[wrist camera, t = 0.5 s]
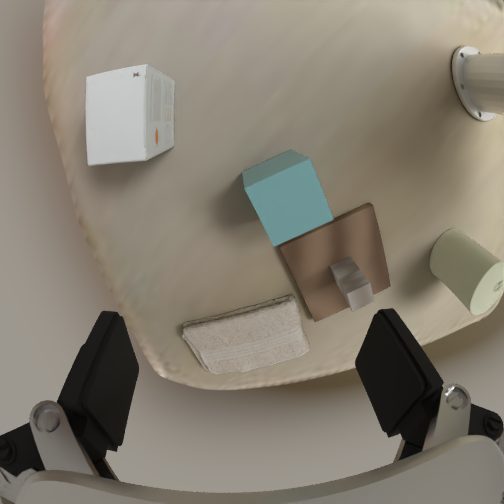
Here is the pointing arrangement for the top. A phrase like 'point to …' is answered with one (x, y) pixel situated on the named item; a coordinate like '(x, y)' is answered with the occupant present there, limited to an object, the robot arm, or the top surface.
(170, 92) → the small box
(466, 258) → the can
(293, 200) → the teal block
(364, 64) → the top surface
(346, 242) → the post board
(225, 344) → the washcloth
